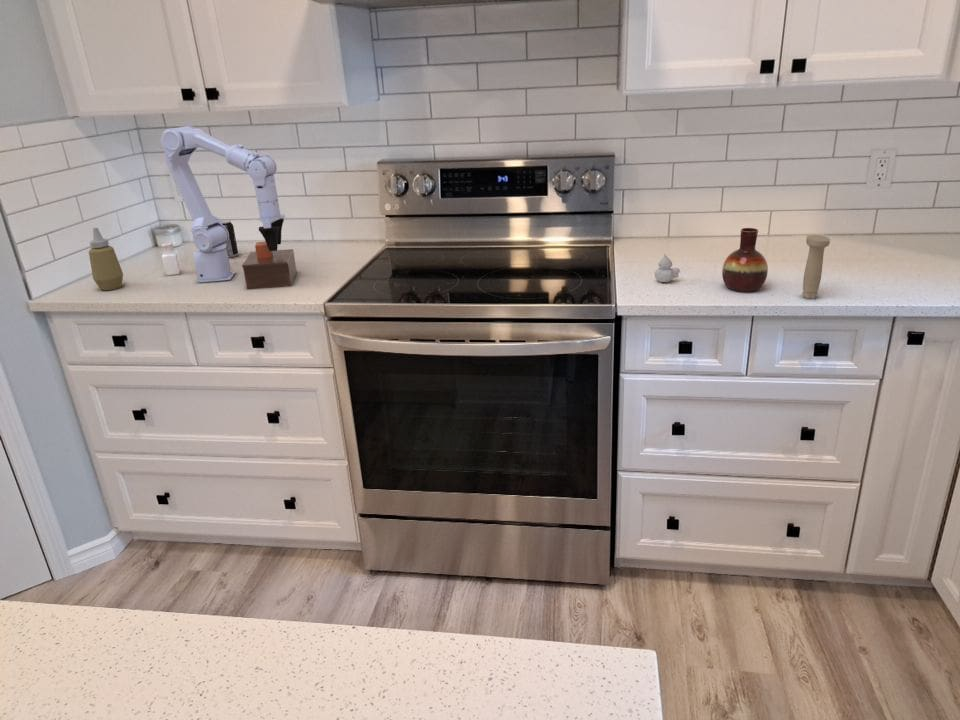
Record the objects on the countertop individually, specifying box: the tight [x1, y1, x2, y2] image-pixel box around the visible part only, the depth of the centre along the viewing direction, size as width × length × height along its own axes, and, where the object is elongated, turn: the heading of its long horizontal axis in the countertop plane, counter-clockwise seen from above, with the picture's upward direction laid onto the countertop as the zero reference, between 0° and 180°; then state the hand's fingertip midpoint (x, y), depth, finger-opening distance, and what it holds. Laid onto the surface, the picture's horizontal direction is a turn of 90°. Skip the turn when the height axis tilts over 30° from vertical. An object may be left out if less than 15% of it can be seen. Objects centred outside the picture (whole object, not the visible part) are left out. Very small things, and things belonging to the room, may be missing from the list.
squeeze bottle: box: [88, 227, 124, 291], centre depth 202 cm, size 8×8×18 cm
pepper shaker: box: [160, 242, 181, 276], centre depth 216 cm, size 4×4×10 cm
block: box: [254, 241, 273, 259], centre depth 202 cm, size 4×4×4 cm
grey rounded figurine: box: [653, 254, 681, 283], centre depth 188 cm, size 5×7×8 cm
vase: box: [721, 227, 769, 293], centre depth 179 cm, size 11×11×15 cm
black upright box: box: [220, 219, 239, 259], centre depth 232 cm, size 6×6×12 cm
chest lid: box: [241, 248, 294, 268], centre depth 203 cm, size 14×13×1 cm
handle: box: [802, 234, 831, 300], centre depth 170 cm, size 5×6×15 cm
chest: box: [242, 250, 298, 290], centre depth 205 cm, size 14×13×7 cm
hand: (275, 247), depth 202 cm, fingers open, 7 cm apart
